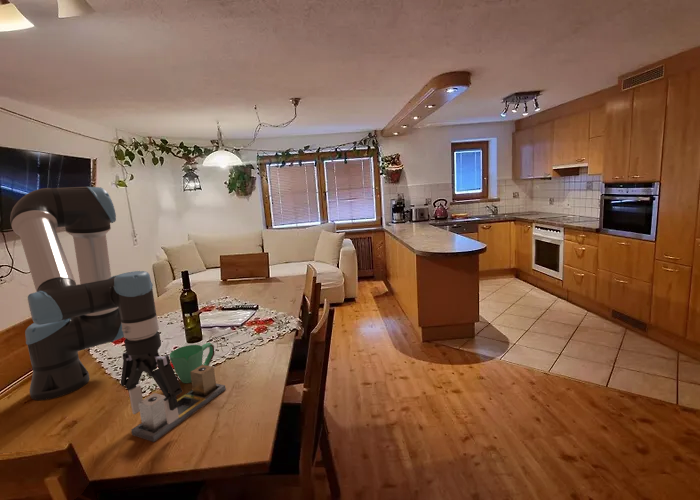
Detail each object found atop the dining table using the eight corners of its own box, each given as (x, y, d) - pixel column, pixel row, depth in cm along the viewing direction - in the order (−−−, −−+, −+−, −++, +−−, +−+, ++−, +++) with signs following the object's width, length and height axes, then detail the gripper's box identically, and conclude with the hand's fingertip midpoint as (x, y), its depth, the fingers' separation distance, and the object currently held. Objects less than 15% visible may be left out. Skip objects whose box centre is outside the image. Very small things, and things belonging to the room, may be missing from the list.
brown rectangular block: (193, 397, 104) (190, 371, 102) (205, 389, 108) (202, 364, 106) (205, 400, 102) (201, 373, 100) (217, 391, 106) (213, 366, 105)
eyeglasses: (207, 348, 140) (205, 336, 140) (238, 335, 152) (236, 324, 152) (232, 356, 131) (231, 344, 130) (263, 341, 143) (262, 329, 143)
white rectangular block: (143, 431, 89) (138, 402, 88) (159, 421, 93) (154, 392, 92) (155, 435, 87) (150, 405, 86) (171, 424, 91) (166, 395, 90)
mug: (186, 391, 108) (181, 360, 107) (167, 384, 113) (162, 354, 112) (225, 369, 120) (221, 341, 119) (206, 364, 125) (202, 337, 124)
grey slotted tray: (132, 436, 88) (131, 429, 88) (206, 386, 110) (205, 381, 110) (154, 443, 85) (153, 436, 85) (225, 390, 107) (225, 385, 106)
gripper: (94, 335, 88) (109, 415, 91) (163, 346, 78) (177, 435, 81) (124, 325, 95) (137, 399, 98) (190, 333, 85) (202, 415, 88)
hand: (155, 415), depth 90 cm, fingers open, 12 cm apart
